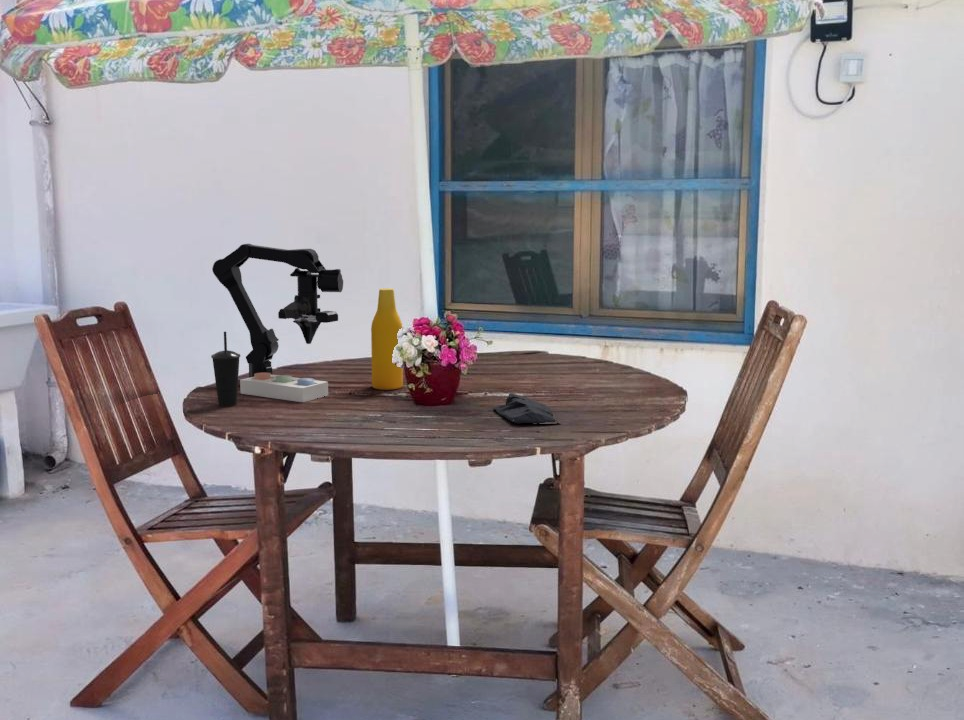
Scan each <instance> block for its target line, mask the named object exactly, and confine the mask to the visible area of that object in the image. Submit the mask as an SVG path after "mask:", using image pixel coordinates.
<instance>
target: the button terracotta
mask: <svg viewBox="0 0 964 720" xmlns="http://www.w3.org/2000/svg"><path fill="white" fill-rule="evenodd" d="M254 379H258V380H267V379H271V373H265V372H262V373H255V374H254Z"/></svg>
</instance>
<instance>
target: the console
mask: <svg viewBox="0 0 964 720" xmlns="http://www.w3.org/2000/svg"><path fill="white" fill-rule="evenodd" d="M276 376H280V375H278V374H277V375H276V374H273V373H272V374H271V379H267V380H258V379H254V377H250V378H249V377H246V378H242V379H239V385H240V390H239V391H240V394H241V395H248V396H255V397H262V398H263V397H264V398H268V399H269V398H271V399H277V400H283V401H290V402H291V401H292V402H298V403H306V402H309V401H314V400H317V398H318V399H321V398H324V396H325V397H329V382H328V381H325V380H318V379H314V384H313V385H309V386H302V385H297V379H300V378H301V377H294V376H292V382H287V383H280V382H276Z"/></svg>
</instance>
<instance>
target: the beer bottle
mask: <svg viewBox="0 0 964 720" xmlns="http://www.w3.org/2000/svg"><path fill="white" fill-rule="evenodd" d="M395 297H396V296H395V291H394V288H379V291H378V299H377V300H378V301H377V309H376V312H375V314H374V316H373V320H372V321H371V326H370V327H371V328H370V329H371V330H370V331H371V335H370V336H371V339H370V340H371V347H370V348H371V387H372V388H373V389H376V390H381V391H382V390H384V391H385V390H386V391H388V390H390V391H391V390H398V389H401V388H403V384H404V371H403V369H404V367H403V368H400V367H397V366H396V365H395V364H393V363H392V354H393V350H394V347H395V346H396V345H397V344H398V339H397V333H398V331H399V329H401V328H402V329H403V323H402V320H401V318H400V315H399V313H398V310H397V306H396V305H397V304H396V298H395Z"/></svg>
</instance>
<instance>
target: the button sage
mask: <svg viewBox="0 0 964 720" xmlns="http://www.w3.org/2000/svg"><path fill="white" fill-rule="evenodd" d="M292 377H293V376H292V375H290V374H289V375H288V374H287V375H286V374H285V375H284V374H283V375H279V376H276V382H280V383H287V382H292Z"/></svg>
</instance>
